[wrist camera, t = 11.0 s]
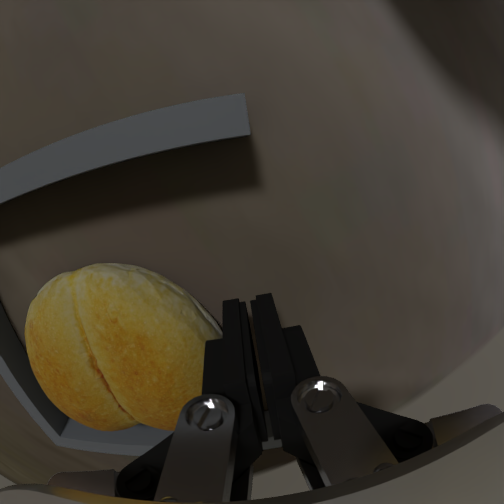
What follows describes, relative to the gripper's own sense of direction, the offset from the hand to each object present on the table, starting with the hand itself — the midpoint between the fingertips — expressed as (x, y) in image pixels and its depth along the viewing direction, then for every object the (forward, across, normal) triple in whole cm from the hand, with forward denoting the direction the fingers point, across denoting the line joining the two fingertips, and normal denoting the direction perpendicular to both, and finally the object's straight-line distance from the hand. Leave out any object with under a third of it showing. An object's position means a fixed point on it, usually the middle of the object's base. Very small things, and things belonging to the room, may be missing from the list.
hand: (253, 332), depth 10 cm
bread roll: (+2, +6, +1) cm, 6 cm away
